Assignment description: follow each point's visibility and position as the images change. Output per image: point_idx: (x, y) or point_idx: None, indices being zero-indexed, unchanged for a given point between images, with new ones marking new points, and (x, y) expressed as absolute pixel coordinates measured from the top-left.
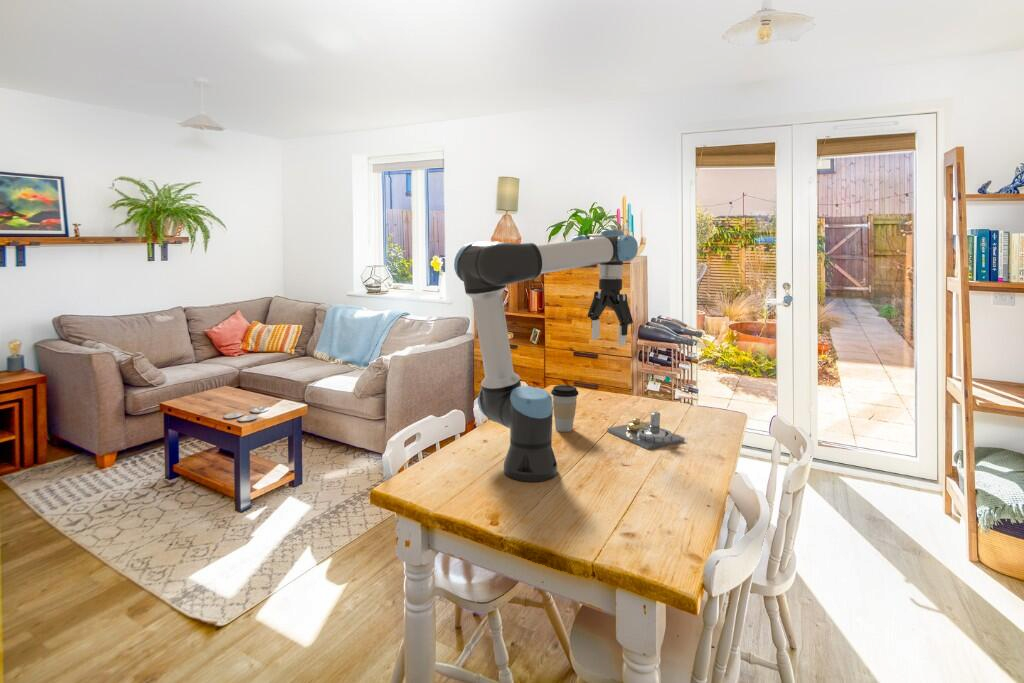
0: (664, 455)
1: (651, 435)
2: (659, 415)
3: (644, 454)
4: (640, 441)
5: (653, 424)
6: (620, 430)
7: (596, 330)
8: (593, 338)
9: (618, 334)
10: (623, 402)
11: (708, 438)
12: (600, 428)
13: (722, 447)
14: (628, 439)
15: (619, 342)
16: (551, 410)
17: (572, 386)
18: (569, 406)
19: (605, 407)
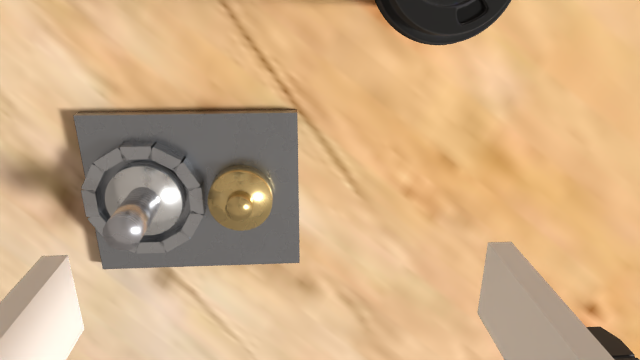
0: (12, 122)
1: (119, 171)
2: (105, 236)
3: (41, 69)
4: (124, 122)
5: (123, 202)
6: (254, 138)
7: (523, 341)
8: (490, 252)
9: (2, 333)
10: None
11: (105, 336)
12: (338, 110)
13: None
14: (180, 112)
15: (28, 275)
16: None
17: (453, 25)
18: None
19: None
